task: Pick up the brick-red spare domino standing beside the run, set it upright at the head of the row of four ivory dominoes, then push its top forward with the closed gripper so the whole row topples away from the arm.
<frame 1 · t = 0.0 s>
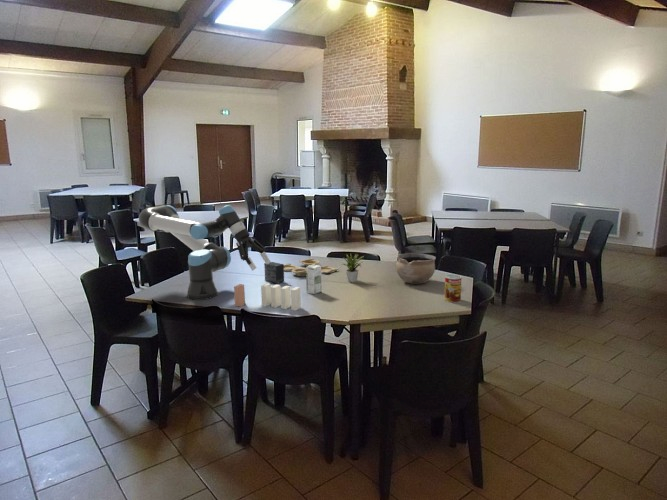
hand: (261, 266, 258), 15 cm above the table, tool tilted 35°, fingers open, 13 cm apart
canned food: (452, 300, 247), on the table
small box: (274, 281, 286), on the table
domino 3: (276, 305, 242), on the table
domino 4: (286, 307, 240), on the table
tableware set: (306, 270, 311), on the table
domino 2: (266, 304, 245), on the table
spare domino: (240, 305, 244), on the table
house plant: (352, 281, 283), on the table
domino 5: (296, 308, 238), on the table
ceramic bowl: (415, 282, 280), on the table
syrup box: (314, 292, 264), on the table
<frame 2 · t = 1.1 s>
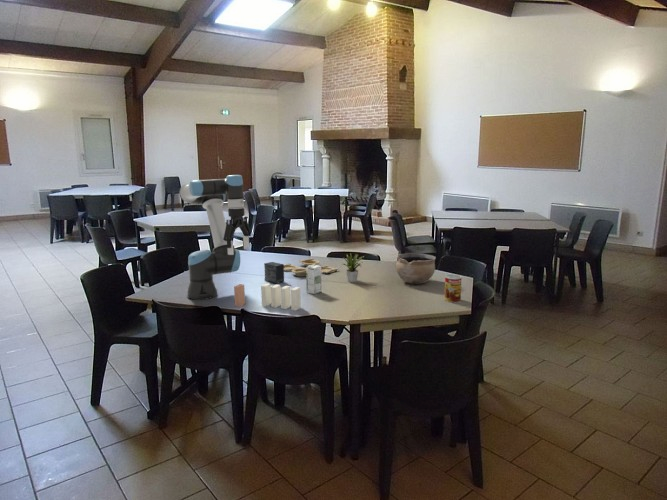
hand: (238, 251, 240), 26 cm above the table, tool pointing down, fingers open, 13 cm apart
nothing on the table moved.
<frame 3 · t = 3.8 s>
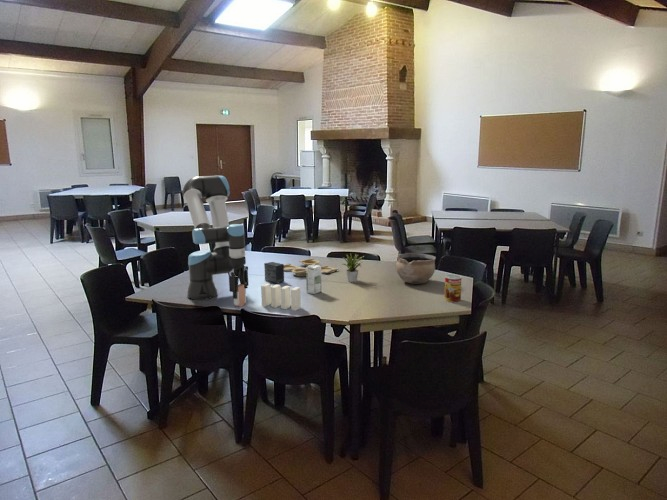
hand: (240, 302, 244), 1 cm above the table, tool pointing down, fingers closed on spare domino, 5 cm apart
spare domino: (240, 305, 244), on the table, touching gripper
everything else where it was.
when the fingers open (2 cm above the table, at t = 8.3 s): spare domino stays where it is, on the table.
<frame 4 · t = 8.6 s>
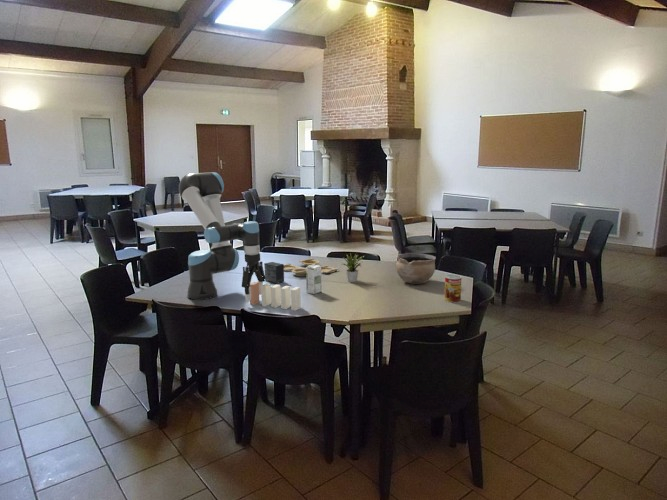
hand: (254, 297, 247), 3 cm above the table, tool pointing down, fingers open, 10 cm apart
spare domino: (254, 302, 247), on the table
everything else where it was.
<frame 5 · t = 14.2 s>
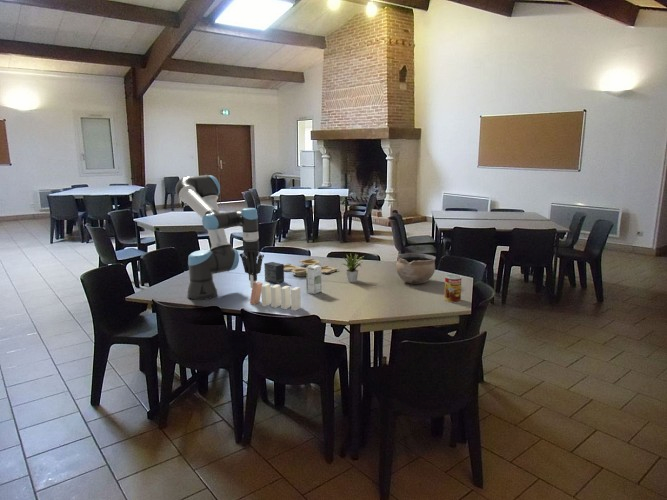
hand: (253, 287, 246), 8 cm above the table, tool pointing down, fingers closed
spare domino: (254, 302, 247), on the table, tilted 13°
everything else where it was.
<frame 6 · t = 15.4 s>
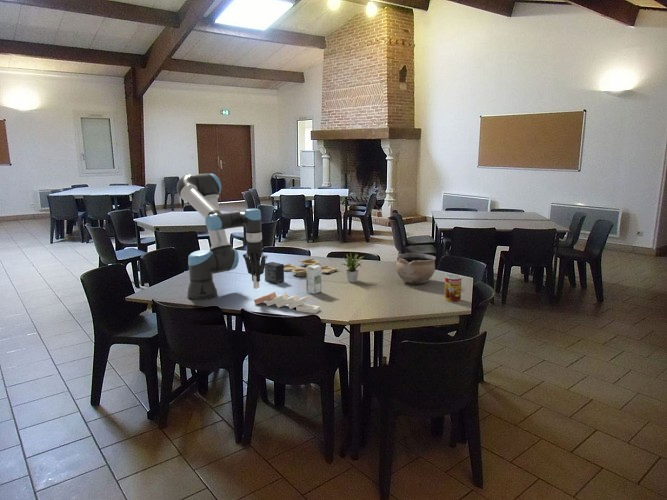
hand: (256, 287, 245), 8 cm above the table, tool pointing down, fingers closed
domino 3: (279, 304, 241), point 1 cm above the table, tilted 66°, touching domino 2
domino 4: (291, 305, 239), point 1 cm above the table, tilted 63°, touching domino 5
domino 2: (269, 302, 244), point 1 cm above the table, tilted 65°, touching domino 3, spare domino
spare domino: (257, 301, 247), point 1 cm above the table, tilted 67°, touching domino 2
domino 5: (298, 307, 237), point 1 cm above the table, tilted 90°, touching domino 4
everything else where it was.
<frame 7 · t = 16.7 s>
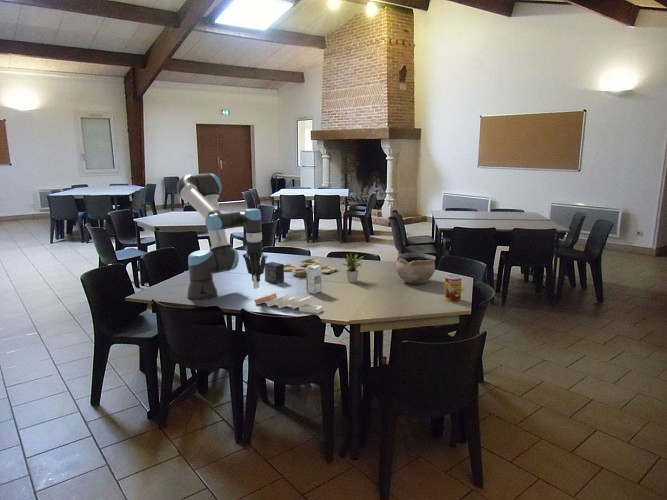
hand: (256, 287, 245), 8 cm above the table, tool pointing down, fingers closed
domino 3: (280, 304, 241), point 1 cm above the table, tilted 67°, touching domino 2, domino 4
domino 4: (293, 305, 238), point 1 cm above the table, tilted 67°, touching domino 3, domino 5
domino 2: (269, 303, 243), point 1 cm above the table, tilted 67°, touching domino 3, spare domino
domino 5: (301, 307, 237), point 1 cm above the table, tilted 90°, touching domino 4
everything else where it was.
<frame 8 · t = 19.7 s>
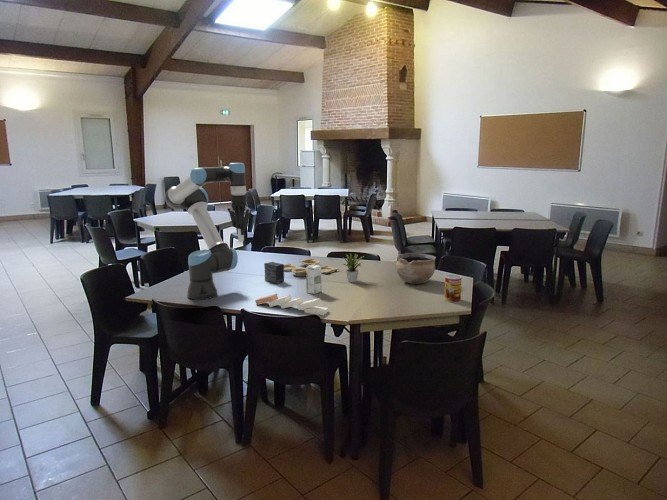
hand: (241, 241, 251), 29 cm above the table, tool pointing down, fingers closed
domino 3: (284, 304, 240), point 1 cm above the table, tilted 70°, touching domino 2
domino 4: (300, 306, 235), point 2 cm above the table, tilted 70°
domino 2: (272, 303, 243), point 1 cm above the table, tilted 68°, touching domino 3, spare domino
domino 5: (307, 309, 234), point 1 cm above the table, tilted 90°
everything else where it was.
at the end: domino 5 tilted 90°; spare domino tilted 72°; spare domino inside the target area (0.0 cm from its centre), point 1.1 cm above the table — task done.
